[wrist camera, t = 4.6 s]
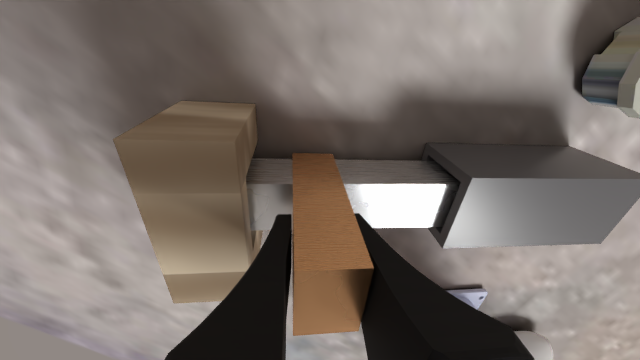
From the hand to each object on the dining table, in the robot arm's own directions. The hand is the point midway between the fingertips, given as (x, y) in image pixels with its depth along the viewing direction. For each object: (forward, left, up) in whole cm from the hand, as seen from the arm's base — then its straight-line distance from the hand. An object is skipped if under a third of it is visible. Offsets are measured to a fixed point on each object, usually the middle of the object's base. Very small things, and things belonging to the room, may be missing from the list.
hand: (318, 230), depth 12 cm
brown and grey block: (0, -3, -6) cm, 6 cm away
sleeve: (0, -13, -6) cm, 14 cm away
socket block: (0, +5, -6) cm, 8 cm away
